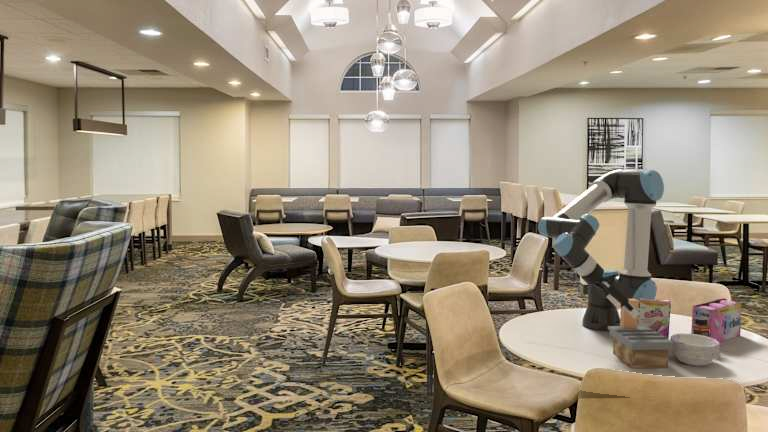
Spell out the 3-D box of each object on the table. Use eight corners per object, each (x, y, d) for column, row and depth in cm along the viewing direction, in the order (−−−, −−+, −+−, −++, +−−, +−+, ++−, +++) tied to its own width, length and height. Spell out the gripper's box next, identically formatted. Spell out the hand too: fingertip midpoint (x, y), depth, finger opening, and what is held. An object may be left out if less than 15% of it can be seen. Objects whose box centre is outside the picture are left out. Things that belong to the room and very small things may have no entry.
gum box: (722, 330, 258) (724, 297, 257) (742, 335, 251) (744, 301, 250) (690, 340, 244) (691, 305, 243) (710, 345, 238) (712, 309, 236)
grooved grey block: (607, 333, 230) (608, 298, 229) (645, 332, 231) (647, 298, 230) (631, 349, 210) (633, 312, 209) (673, 349, 211) (675, 312, 210)
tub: (612, 353, 228) (613, 331, 227) (645, 352, 228) (646, 330, 228) (632, 368, 212) (633, 344, 211) (667, 367, 212) (669, 344, 212)
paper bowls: (728, 368, 212) (729, 345, 211) (684, 369, 211) (685, 346, 210) (702, 354, 227) (703, 332, 226) (660, 355, 226) (661, 333, 225)
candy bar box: (636, 343, 240) (638, 300, 239) (635, 339, 245) (637, 297, 243) (669, 346, 237) (671, 302, 235) (667, 342, 241) (669, 299, 240)
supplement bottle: (712, 349, 232) (714, 319, 231) (703, 352, 229) (704, 321, 228) (697, 345, 237) (698, 315, 236) (687, 348, 234) (689, 317, 233)
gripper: (569, 270, 238) (607, 310, 240) (594, 284, 213) (636, 327, 215) (583, 256, 238) (621, 296, 240) (610, 268, 213) (652, 312, 215)
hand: (628, 311), depth 228 cm, fingers open, 13 cm apart
